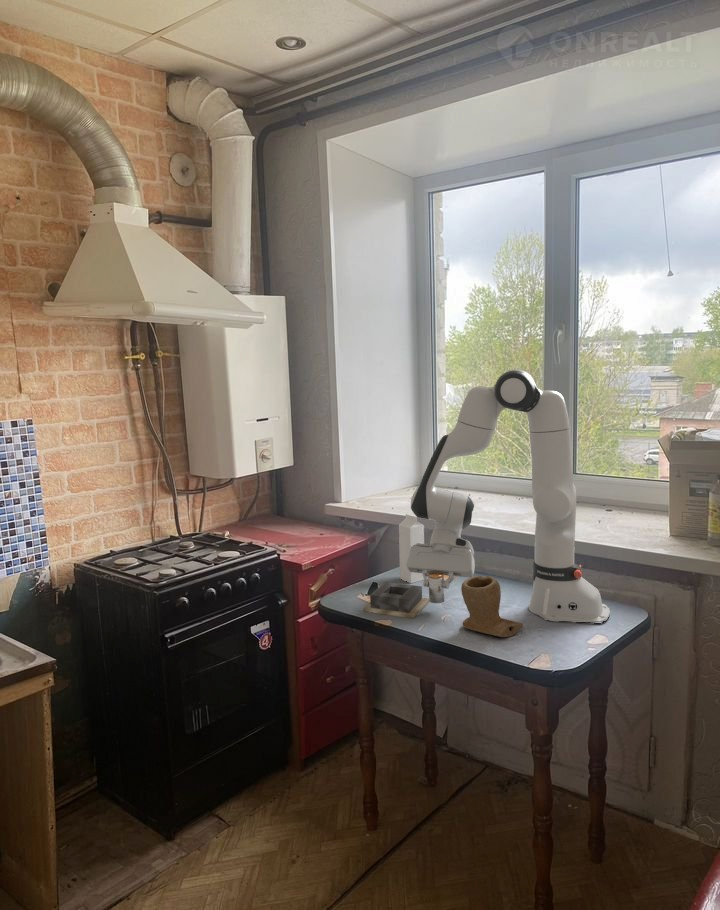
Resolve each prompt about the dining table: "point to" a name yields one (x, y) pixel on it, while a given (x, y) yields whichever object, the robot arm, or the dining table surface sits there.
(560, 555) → the robot arm
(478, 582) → the tan boot-shaped piece
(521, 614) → the dining table surface
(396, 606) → the socket board
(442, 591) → the glass jar
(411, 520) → the milk
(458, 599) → the dining table surface
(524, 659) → the dining table surface
